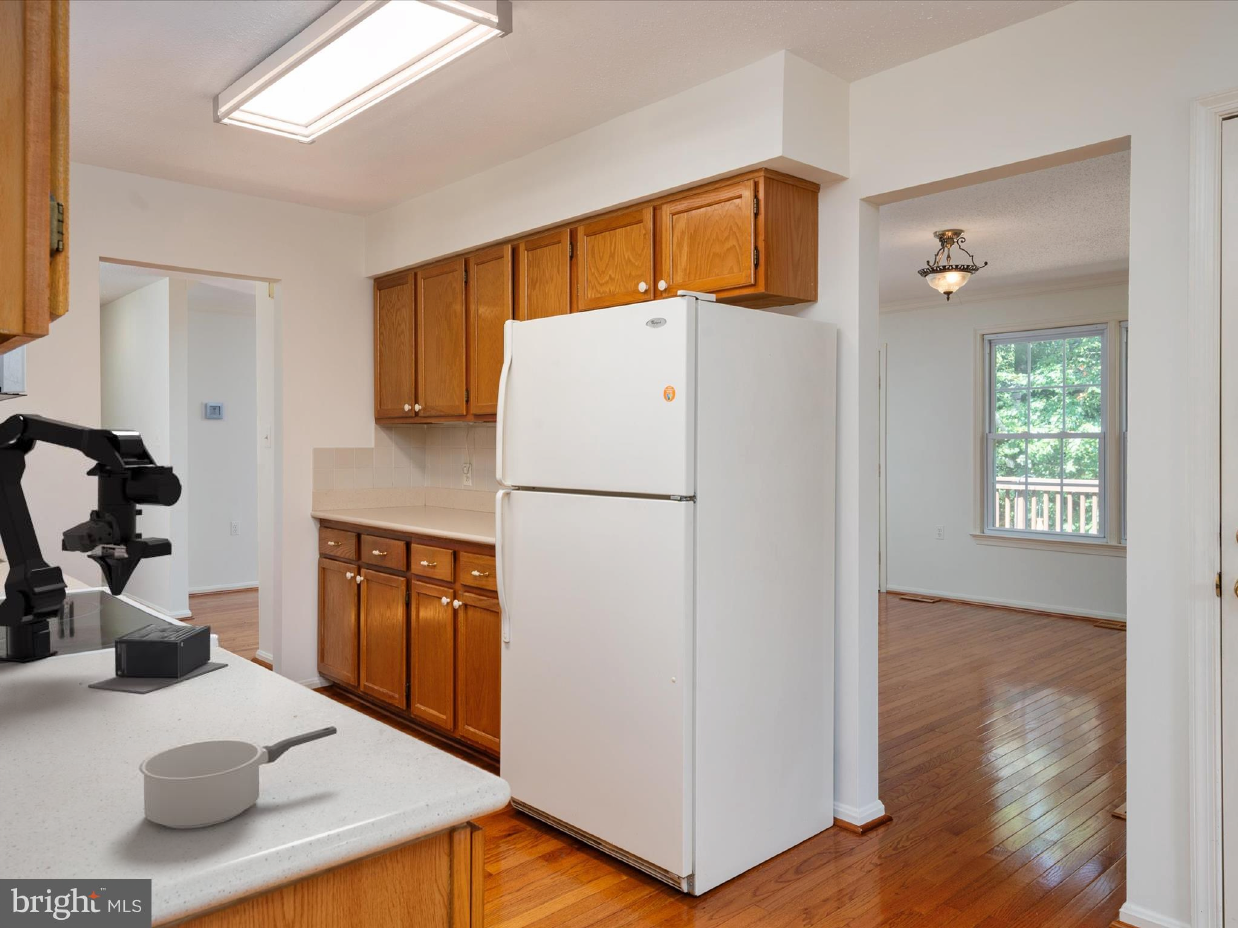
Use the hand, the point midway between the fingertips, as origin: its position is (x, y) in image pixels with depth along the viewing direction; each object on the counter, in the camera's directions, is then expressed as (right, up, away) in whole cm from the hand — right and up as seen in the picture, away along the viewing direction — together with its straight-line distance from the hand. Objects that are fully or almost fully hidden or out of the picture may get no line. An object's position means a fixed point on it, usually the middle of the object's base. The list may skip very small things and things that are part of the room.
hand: (116, 595), depth 148 cm
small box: (+5, -8, -5) cm, 11 cm away
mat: (+12, -12, -8) cm, 18 cm away
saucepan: (+45, -14, -55) cm, 73 cm away
